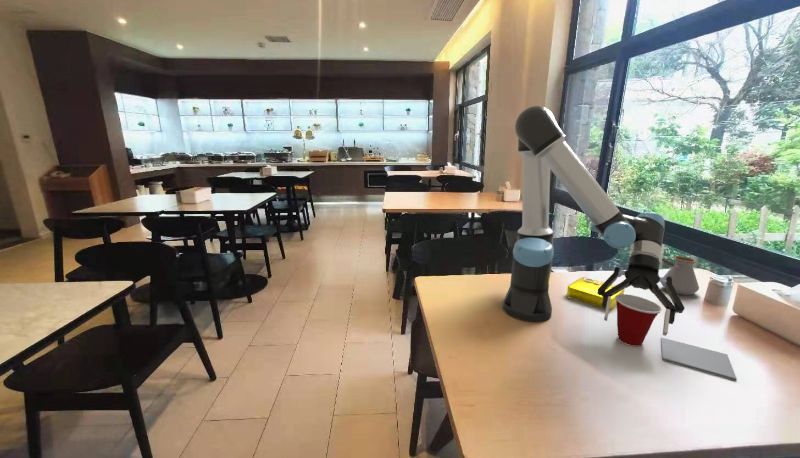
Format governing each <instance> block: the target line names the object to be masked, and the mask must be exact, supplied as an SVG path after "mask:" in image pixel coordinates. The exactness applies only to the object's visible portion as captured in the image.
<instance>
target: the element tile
mask: <svg viewBox="0 0 800 458" xmlns="http://www.w3.org/2000/svg"><path fill="white" fill-rule="evenodd" d="M604 282H605V281H604ZM604 282H603V281H600V280H596V279H593V278H589V277H585V276H584V277H580V278H578V279H576V280H574V281H573V282H571V283H570V284H568V285H567V291H566V296H567V298H569V299H571V300H572V299H573V300H576V301H578V302H582V303H585V304H588V305H591V306H594V307H597V308H601V309H603V310H604V309H605V308H602V302H603V297H602V296H601V295H598V294H597V291H598V288H599V287H600V286H601V285H602V284H603V283H604ZM614 286H616V285H614V284H612V285H611V286H610V287H609V288H608V289H607V290H606V291H608V290H609V289H611V288H613V287H614ZM606 291H605V292H606ZM619 294H625V289H623V290H621V291H620V292H618V293H616V294H615V295H613V296H611V302H610V308H609V310H612V309H614V308H615V307H617V304H616V303H617V301H616V299H615V296H616V295H619ZM605 310H606V309H605Z"/></svg>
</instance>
